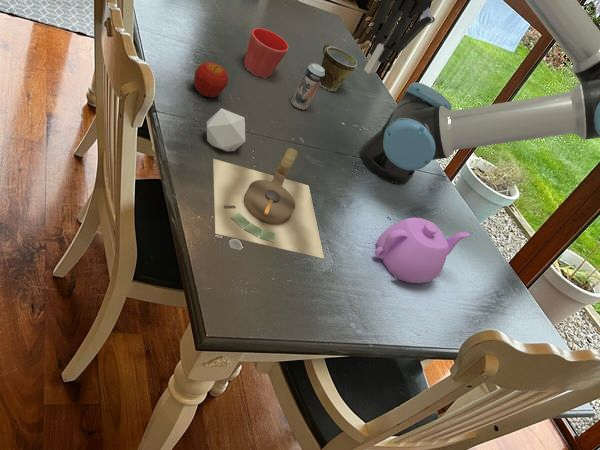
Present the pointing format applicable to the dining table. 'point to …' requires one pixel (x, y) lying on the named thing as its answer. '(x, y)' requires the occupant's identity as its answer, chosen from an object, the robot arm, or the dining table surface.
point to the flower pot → (264, 52)
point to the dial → (272, 194)
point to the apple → (210, 79)
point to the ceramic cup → (336, 67)
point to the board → (245, 226)
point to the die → (226, 130)
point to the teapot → (415, 249)
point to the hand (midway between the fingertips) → (369, 71)
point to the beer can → (308, 86)
